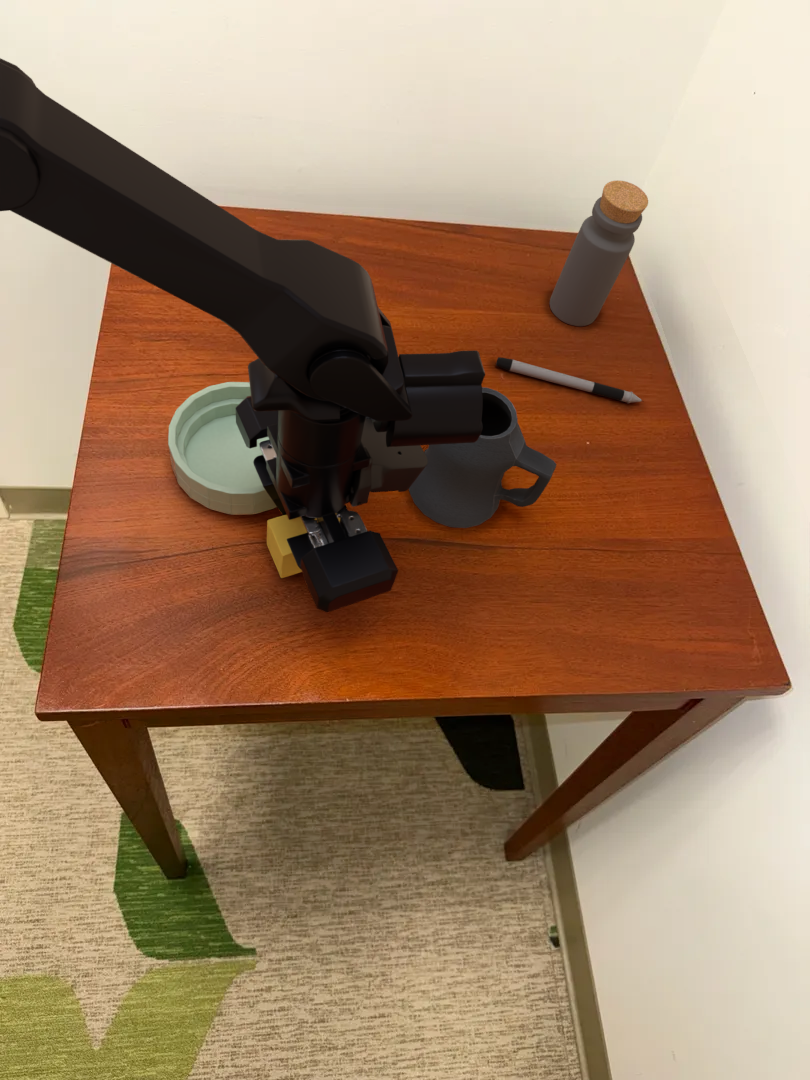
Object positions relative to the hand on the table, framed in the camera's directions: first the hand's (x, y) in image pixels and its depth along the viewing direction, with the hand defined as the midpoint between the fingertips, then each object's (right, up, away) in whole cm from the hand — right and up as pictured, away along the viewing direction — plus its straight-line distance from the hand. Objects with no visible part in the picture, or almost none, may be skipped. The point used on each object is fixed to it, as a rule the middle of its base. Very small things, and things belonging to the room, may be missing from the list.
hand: (306, 545), depth 65 cm
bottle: (+28, +27, +24) cm, 46 cm away
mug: (+14, +5, +8) cm, 17 cm away
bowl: (-7, +8, +5) cm, 11 cm away
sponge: (0, -1, +1) cm, 1 cm away
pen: (+26, +17, +17) cm, 35 cm away
